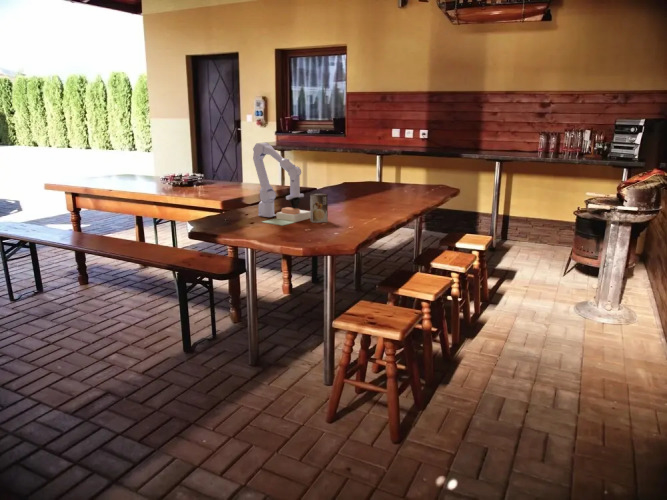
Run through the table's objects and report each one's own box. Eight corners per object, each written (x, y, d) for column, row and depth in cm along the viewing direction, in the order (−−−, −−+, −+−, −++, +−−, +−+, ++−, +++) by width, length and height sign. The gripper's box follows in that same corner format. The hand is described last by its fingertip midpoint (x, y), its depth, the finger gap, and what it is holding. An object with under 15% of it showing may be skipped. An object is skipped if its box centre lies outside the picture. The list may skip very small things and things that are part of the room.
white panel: (276, 219, 312) (276, 212, 311) (293, 215, 325) (293, 209, 324) (294, 222, 304) (294, 215, 303) (311, 218, 317) (311, 211, 316)
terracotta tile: (281, 212, 311) (281, 208, 311) (288, 211, 316) (288, 207, 315) (293, 214, 306) (293, 210, 306) (299, 212, 311) (299, 208, 310)
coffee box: (325, 220, 311) (325, 193, 307) (327, 222, 305) (328, 194, 301) (310, 220, 309) (309, 193, 305) (312, 223, 303) (312, 195, 299)
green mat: (261, 222, 303) (261, 221, 303) (275, 219, 313) (275, 218, 313) (282, 225, 294) (282, 225, 294) (296, 222, 304) (296, 221, 304)
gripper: (292, 189, 303) (292, 212, 306) (307, 186, 314) (307, 209, 318) (283, 188, 307) (283, 211, 310) (298, 185, 318) (298, 208, 322)
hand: (295, 210), depth 314 cm, fingers closed
